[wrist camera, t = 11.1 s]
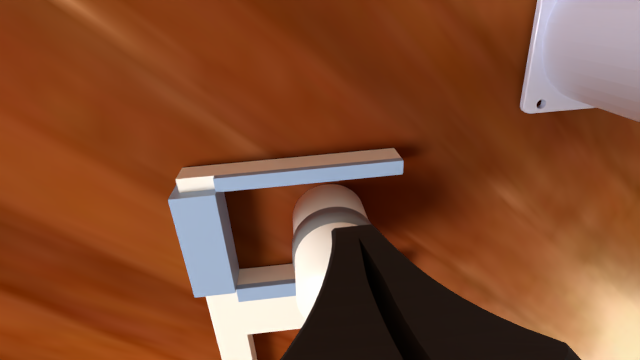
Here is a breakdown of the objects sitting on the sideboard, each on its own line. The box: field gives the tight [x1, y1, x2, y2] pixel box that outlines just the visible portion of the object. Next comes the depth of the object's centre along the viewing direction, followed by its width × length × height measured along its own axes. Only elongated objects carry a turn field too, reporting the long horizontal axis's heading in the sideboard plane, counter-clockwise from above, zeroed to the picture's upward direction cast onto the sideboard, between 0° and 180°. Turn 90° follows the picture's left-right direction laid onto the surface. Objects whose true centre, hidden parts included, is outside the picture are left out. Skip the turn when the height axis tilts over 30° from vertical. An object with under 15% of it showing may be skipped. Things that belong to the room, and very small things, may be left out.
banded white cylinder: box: [292, 184, 371, 319], centre depth 20 cm, size 5×5×7 cm
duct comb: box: [168, 148, 403, 360], centre depth 25 cm, size 12×19×2 cm, turn 4°
